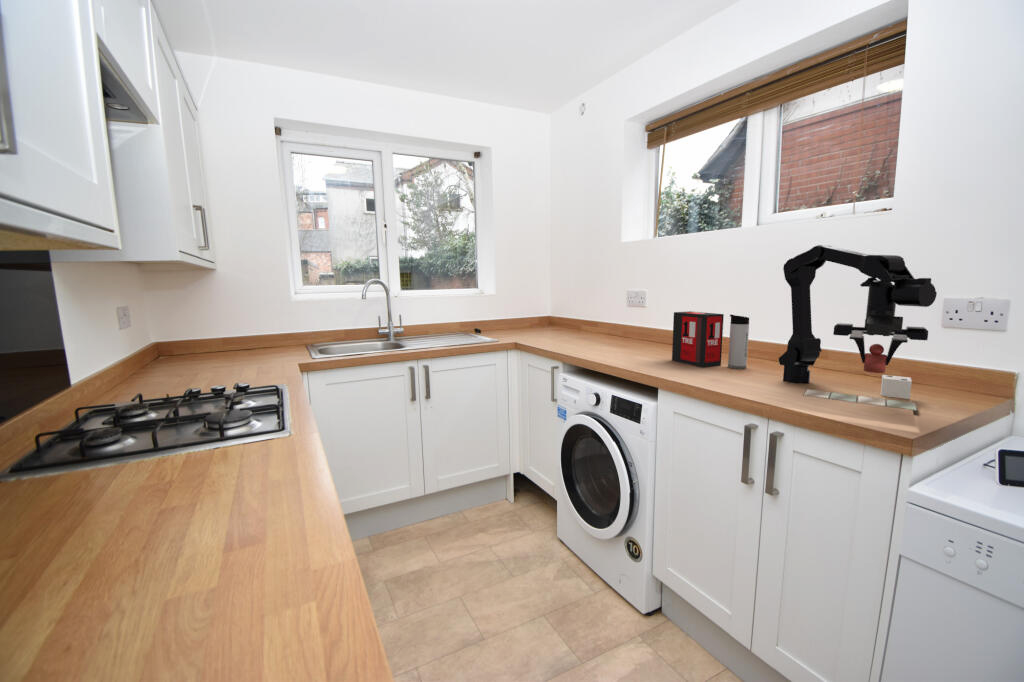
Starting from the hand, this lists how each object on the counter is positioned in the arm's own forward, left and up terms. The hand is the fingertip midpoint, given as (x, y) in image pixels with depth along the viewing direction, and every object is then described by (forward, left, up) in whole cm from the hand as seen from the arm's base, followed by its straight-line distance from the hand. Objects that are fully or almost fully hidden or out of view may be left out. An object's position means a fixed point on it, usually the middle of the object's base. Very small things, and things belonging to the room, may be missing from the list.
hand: (874, 363), depth 117 cm
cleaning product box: (-55, +32, -11) cm, 65 cm away
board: (-3, 0, -11) cm, 11 cm away
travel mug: (-40, +32, -11) cm, 52 cm away
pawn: (0, 0, -2) cm, 2 cm away
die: (+5, +11, -11) cm, 16 cm away
